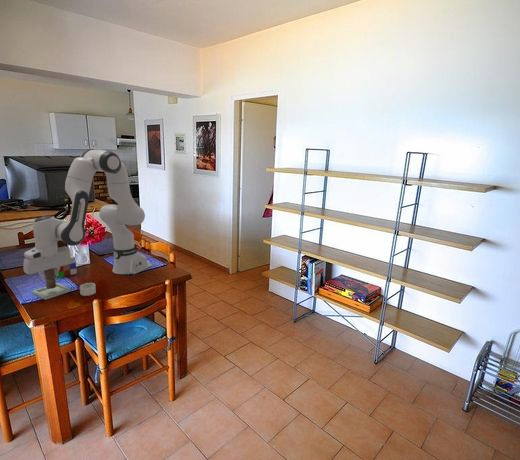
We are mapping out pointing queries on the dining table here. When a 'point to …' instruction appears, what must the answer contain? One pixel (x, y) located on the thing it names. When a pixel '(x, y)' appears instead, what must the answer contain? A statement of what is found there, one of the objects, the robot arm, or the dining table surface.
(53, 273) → the dowel
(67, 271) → the toy
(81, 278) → the dining table surface
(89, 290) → the cup
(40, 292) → the tray
